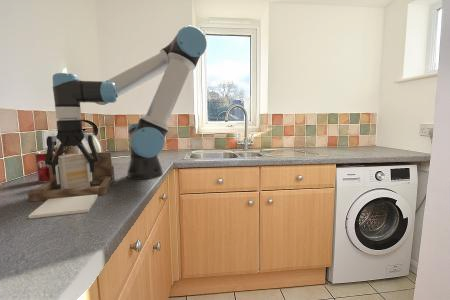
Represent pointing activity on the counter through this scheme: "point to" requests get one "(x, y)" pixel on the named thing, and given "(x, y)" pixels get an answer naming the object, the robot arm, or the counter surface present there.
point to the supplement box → (73, 171)
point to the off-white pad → (64, 206)
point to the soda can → (42, 167)
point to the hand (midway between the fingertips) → (75, 182)
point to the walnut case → (99, 176)
